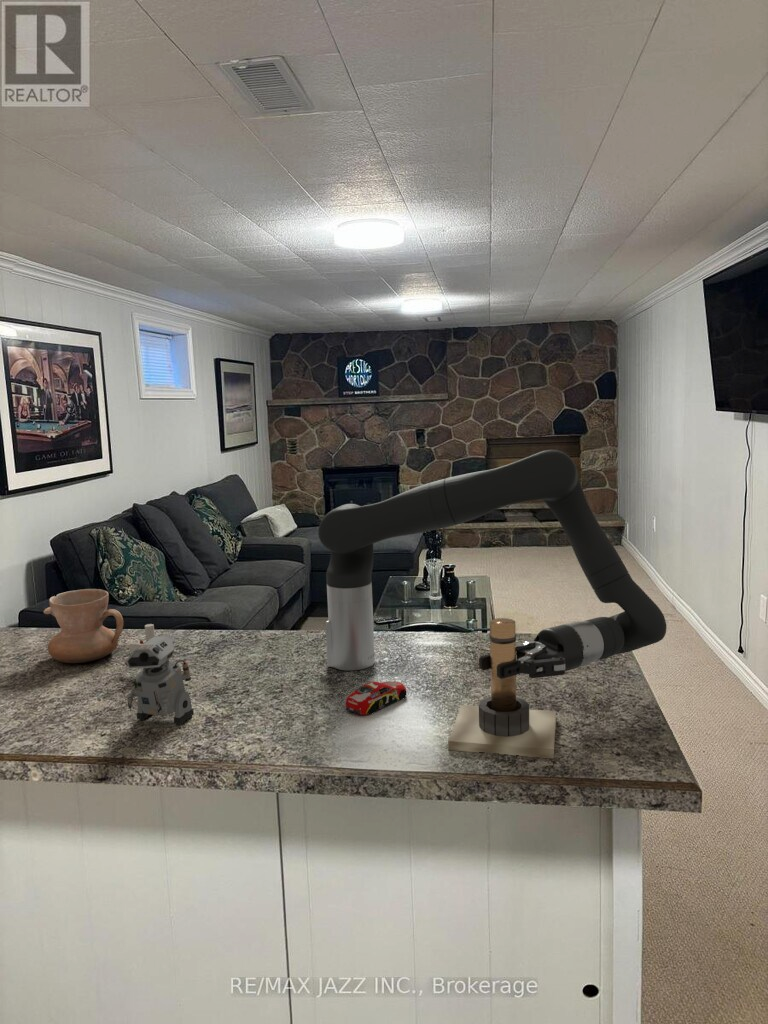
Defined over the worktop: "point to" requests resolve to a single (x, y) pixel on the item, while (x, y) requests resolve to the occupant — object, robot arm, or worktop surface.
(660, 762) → the worktop surface
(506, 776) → the worktop surface
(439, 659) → the worktop surface
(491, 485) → the robot arm
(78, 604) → the ceramic jug
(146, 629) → the pipe connector
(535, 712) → the collar plate
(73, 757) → the worktop surface
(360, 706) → the race car
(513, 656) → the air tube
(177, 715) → the figurine
